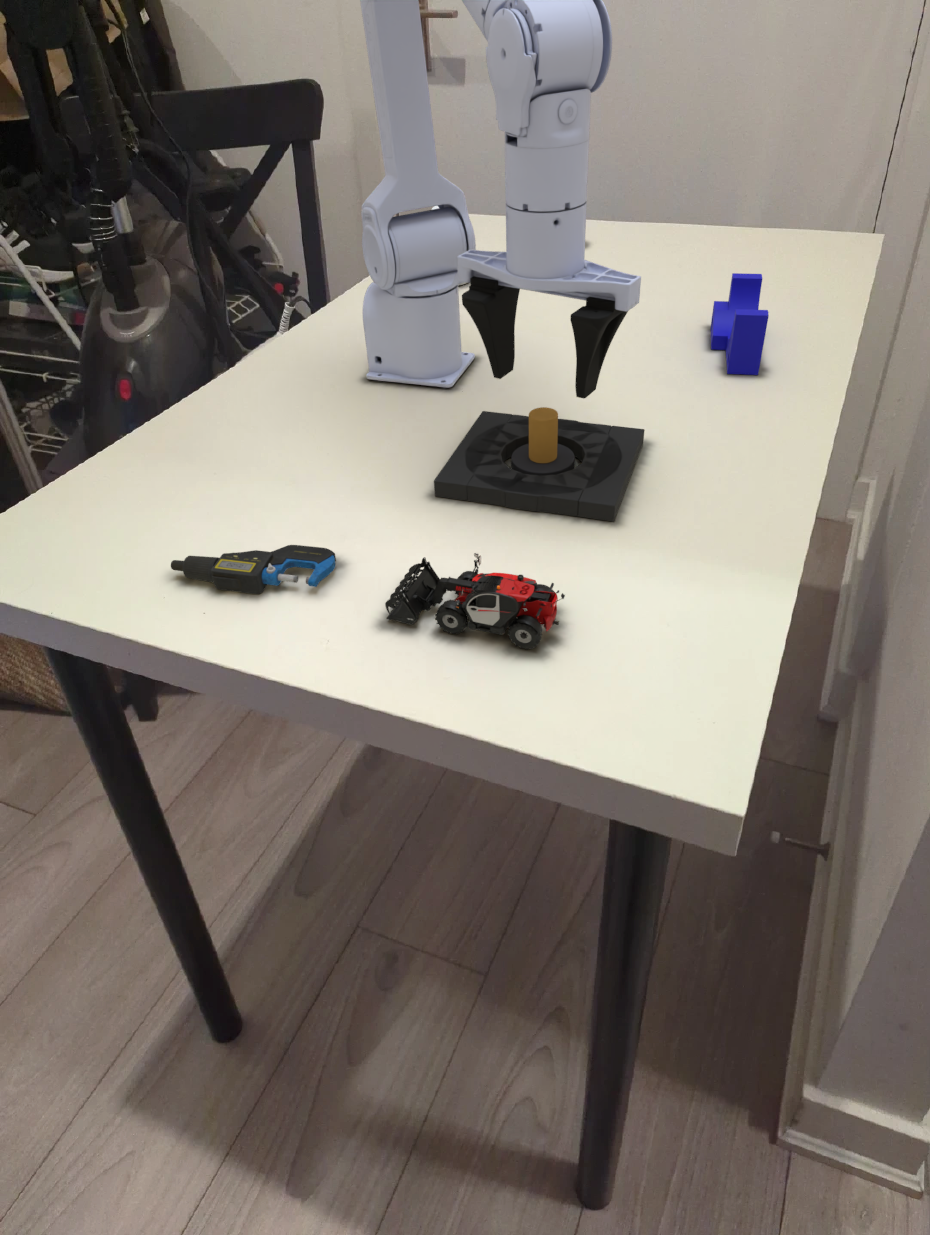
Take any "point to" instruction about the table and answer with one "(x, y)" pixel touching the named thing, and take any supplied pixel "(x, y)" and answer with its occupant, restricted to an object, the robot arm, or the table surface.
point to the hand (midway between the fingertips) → (543, 383)
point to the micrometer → (258, 567)
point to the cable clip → (740, 325)
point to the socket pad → (570, 493)
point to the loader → (478, 603)
